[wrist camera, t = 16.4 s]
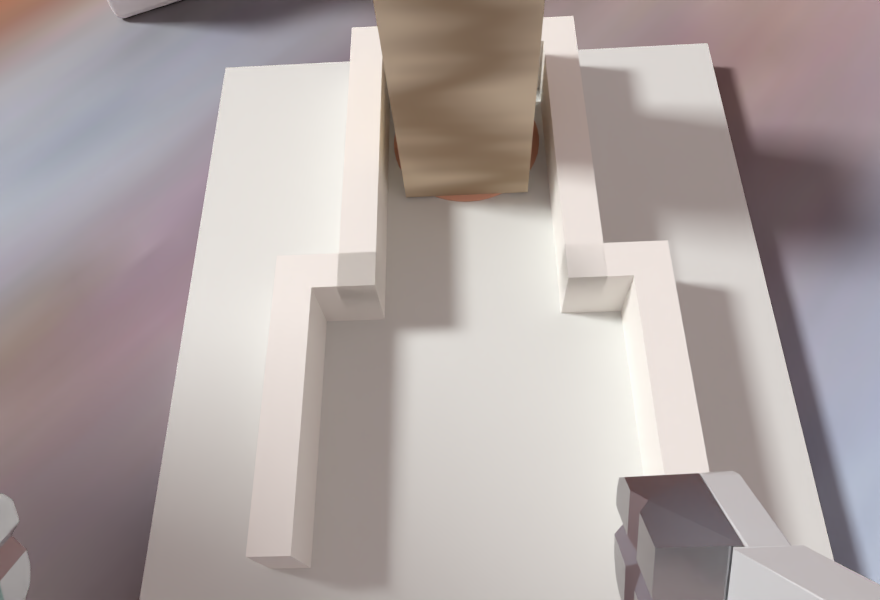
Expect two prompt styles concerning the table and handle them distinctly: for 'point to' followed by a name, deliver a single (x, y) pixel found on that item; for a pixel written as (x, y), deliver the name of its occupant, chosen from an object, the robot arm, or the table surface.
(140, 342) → the table surface
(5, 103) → the table surface
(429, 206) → the keyhole dock
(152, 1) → the medicine bottle
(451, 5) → the beech peg
